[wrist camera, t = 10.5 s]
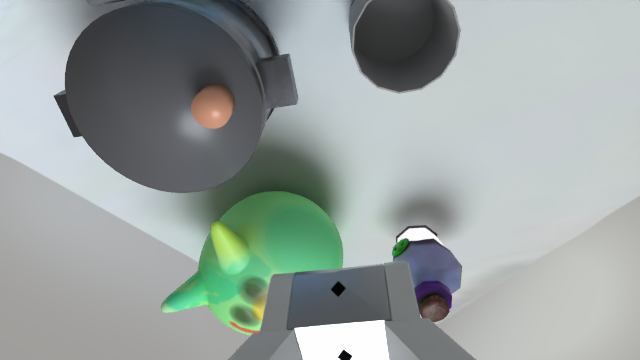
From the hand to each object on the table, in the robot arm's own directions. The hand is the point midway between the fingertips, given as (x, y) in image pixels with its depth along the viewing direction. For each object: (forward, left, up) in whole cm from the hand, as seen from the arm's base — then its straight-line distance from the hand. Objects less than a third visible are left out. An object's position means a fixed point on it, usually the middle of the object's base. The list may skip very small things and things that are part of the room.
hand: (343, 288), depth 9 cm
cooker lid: (+2, -15, -27) cm, 31 cm away
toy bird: (+24, -12, -37) cm, 46 cm away
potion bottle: (+29, +6, -37) cm, 48 cm away
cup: (+1, +5, -37) cm, 38 cm away
